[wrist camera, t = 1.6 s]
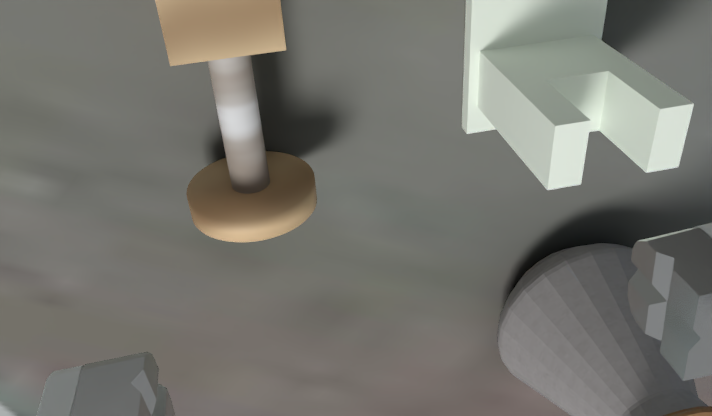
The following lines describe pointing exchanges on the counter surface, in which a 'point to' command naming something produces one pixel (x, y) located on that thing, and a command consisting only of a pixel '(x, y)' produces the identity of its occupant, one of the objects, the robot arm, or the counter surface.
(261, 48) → the brown block with rod
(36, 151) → the counter surface
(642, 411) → the coffee pot
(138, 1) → the counter surface
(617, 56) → the brackets
